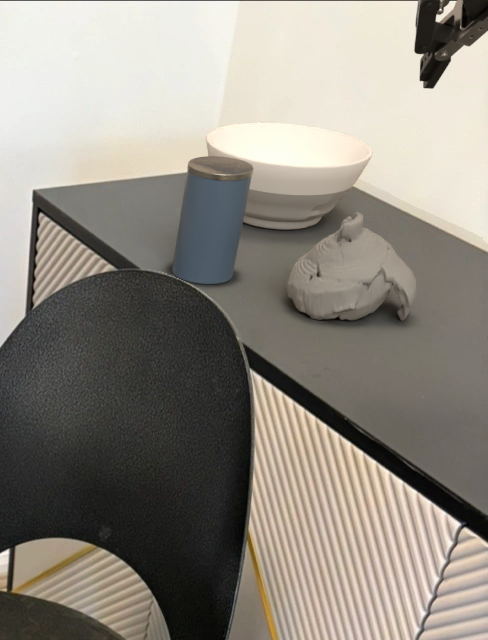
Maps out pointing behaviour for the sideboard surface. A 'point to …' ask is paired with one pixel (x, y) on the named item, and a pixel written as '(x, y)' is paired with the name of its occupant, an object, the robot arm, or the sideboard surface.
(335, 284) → the grey clay mound
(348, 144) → the bowl
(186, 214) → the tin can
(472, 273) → the sideboard surface
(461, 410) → the sideboard surface
